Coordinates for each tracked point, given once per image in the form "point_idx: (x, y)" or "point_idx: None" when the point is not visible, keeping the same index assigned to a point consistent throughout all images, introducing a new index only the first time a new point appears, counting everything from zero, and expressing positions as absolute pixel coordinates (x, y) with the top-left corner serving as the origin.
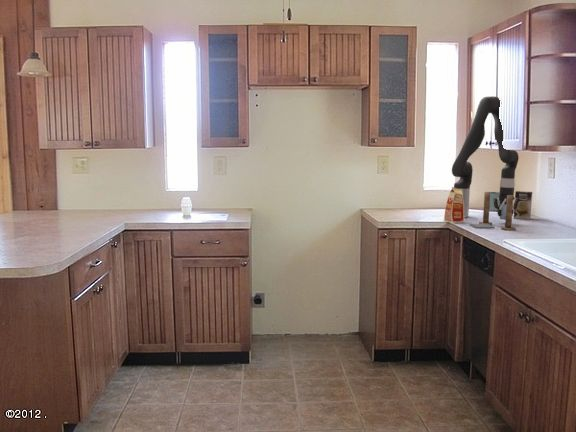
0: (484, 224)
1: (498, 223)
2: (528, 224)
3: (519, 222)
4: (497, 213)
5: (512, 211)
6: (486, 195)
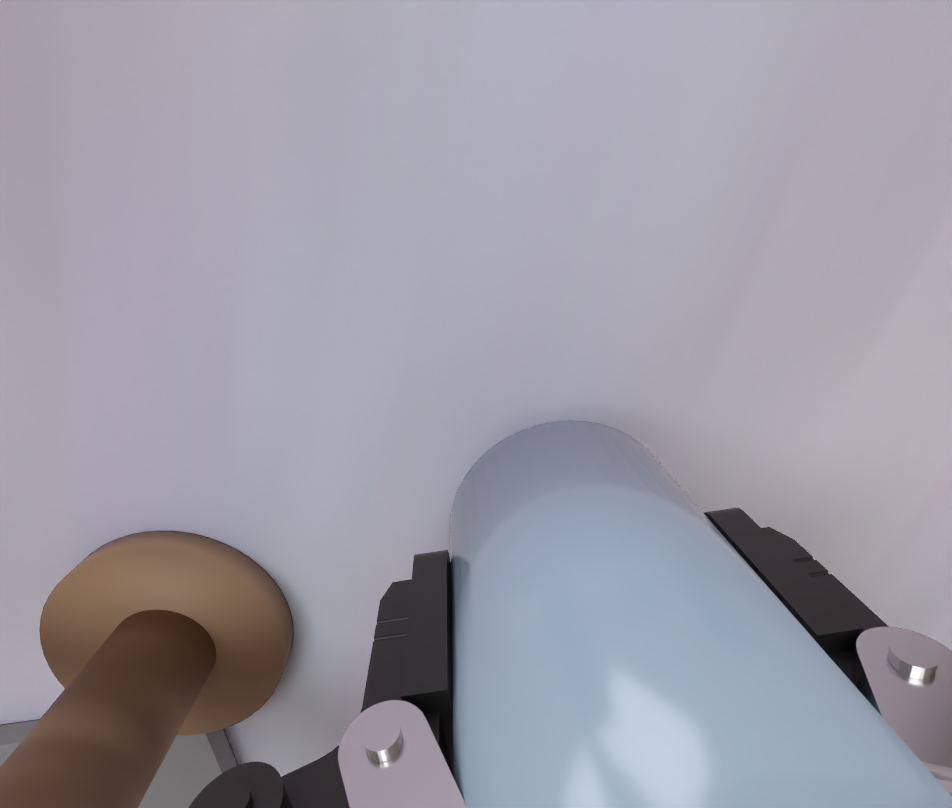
0: None
1: (429, 490)
2: (920, 524)
3: (890, 313)
4: (378, 613)
5: None
6: None
